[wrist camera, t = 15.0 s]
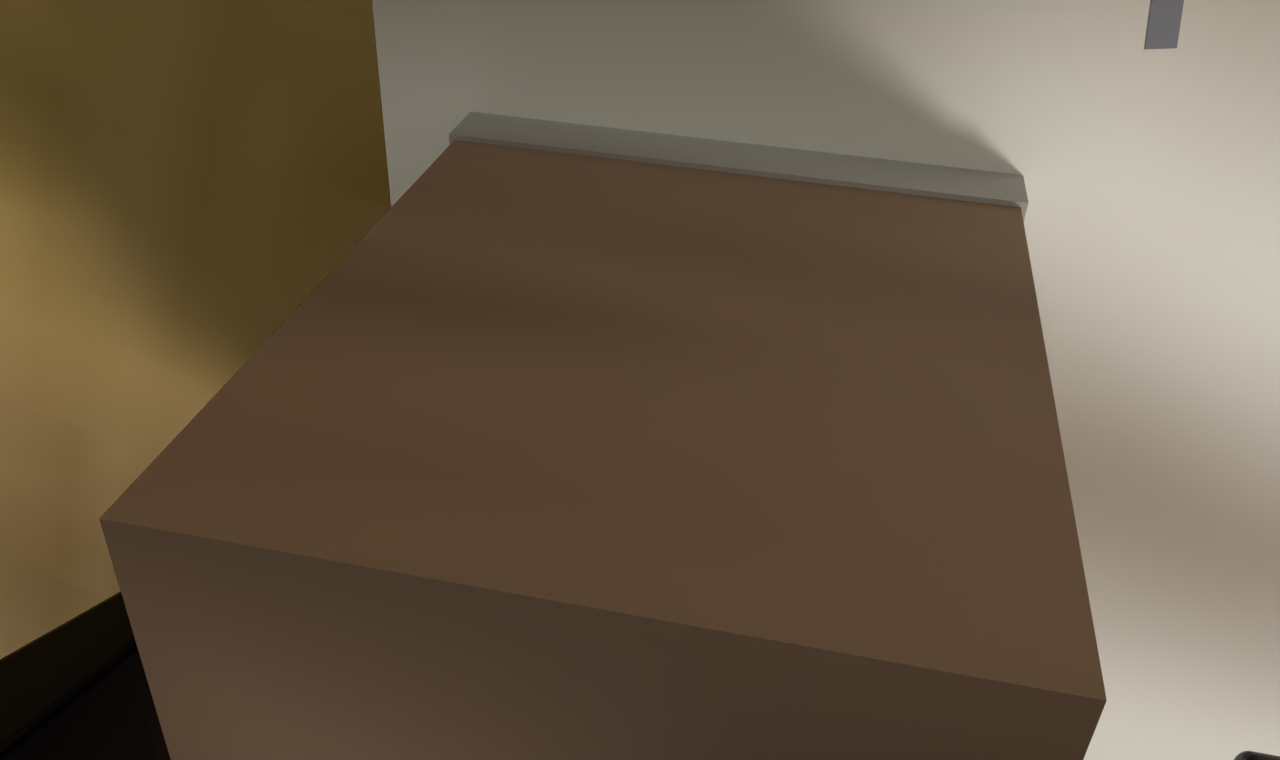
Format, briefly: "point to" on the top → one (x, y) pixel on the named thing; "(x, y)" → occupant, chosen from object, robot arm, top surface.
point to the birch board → (1057, 243)
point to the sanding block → (632, 476)
